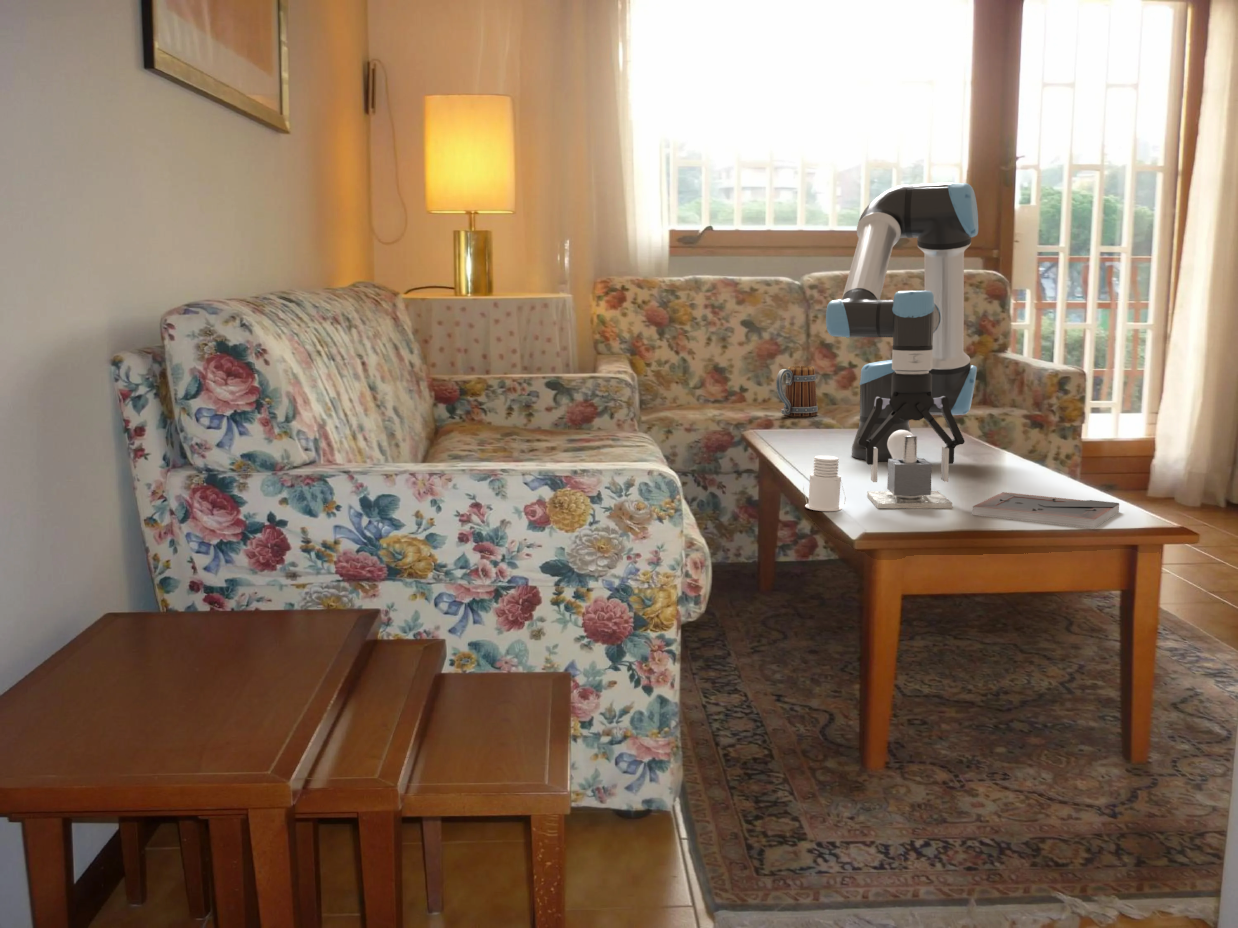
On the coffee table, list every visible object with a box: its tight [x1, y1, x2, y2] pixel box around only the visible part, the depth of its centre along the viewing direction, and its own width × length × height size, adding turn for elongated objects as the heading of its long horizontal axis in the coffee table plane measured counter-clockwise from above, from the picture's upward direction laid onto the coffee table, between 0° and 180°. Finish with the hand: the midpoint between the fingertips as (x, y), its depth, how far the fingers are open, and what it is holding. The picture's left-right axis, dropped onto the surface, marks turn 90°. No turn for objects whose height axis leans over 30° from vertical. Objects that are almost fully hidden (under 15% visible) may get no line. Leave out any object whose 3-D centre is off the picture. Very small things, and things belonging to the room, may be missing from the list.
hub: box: [886, 458, 933, 495], centre depth 226 cm, size 7×7×6 cm
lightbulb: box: [887, 430, 915, 459], centre depth 249 cm, size 6×6×11 cm
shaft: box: [866, 434, 953, 509], centre depth 226 cm, size 12×14×13 cm
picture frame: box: [971, 491, 1120, 529], centre depth 215 cm, size 16×2×22 cm
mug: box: [775, 365, 819, 418], centre depth 358 cm, size 16×11×15 cm
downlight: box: [802, 455, 847, 512], centre depth 222 cm, size 8×7×10 cm
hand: (909, 480), depth 226 cm, fingers open, 13 cm apart
